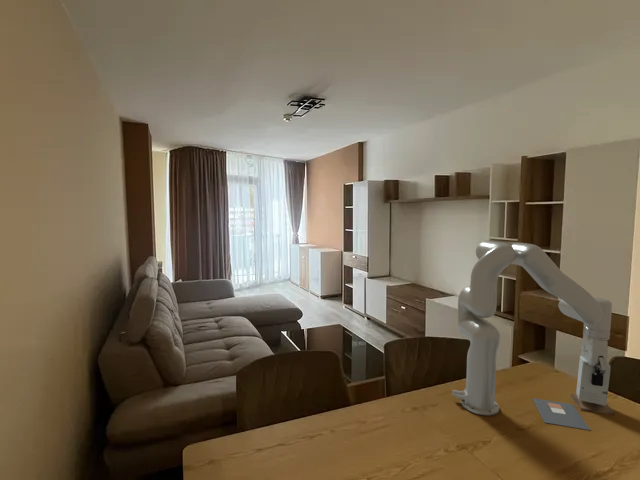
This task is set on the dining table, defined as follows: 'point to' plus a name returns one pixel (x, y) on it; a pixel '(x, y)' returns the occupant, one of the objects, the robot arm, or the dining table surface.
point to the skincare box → (585, 387)
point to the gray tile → (560, 414)
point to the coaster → (592, 406)
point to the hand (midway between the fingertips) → (592, 380)
